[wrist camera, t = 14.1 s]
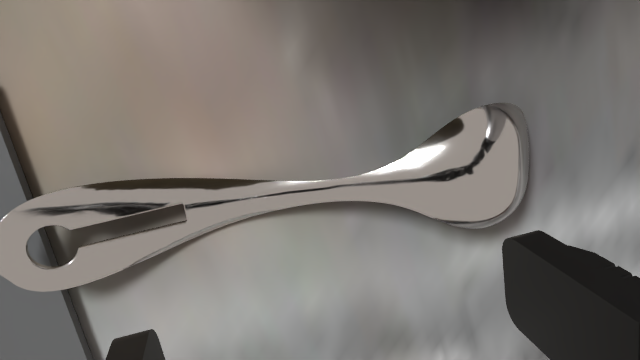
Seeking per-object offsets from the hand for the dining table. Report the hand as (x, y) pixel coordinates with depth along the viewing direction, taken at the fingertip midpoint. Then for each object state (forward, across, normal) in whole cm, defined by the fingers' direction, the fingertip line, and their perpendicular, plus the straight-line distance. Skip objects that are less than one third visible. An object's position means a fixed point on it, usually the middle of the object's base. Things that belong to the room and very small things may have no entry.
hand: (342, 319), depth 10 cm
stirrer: (+9, 0, 0) cm, 9 cm away
